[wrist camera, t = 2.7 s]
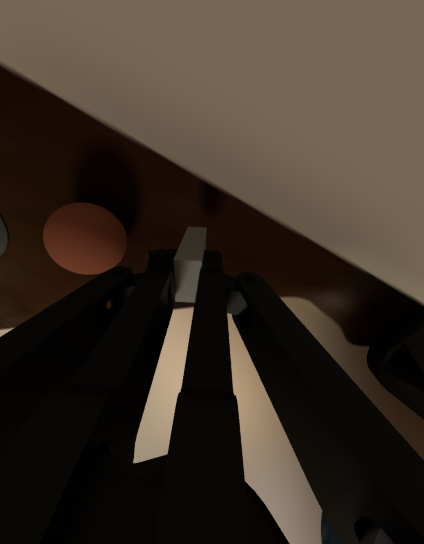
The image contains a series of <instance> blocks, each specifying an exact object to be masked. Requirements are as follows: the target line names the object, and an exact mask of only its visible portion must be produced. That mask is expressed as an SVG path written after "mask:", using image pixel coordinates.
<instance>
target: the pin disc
mask: <svg viewBox="0 0 424 544" xmlns="http://www.w3.org/2000/svg"><path fill="white" fill-rule="evenodd" d="M8 243H9V236H8V231H7V227H6V225H5V222H4V221H3V219H2V217H1V215H0V256H1V255H2V254H3V253H4V252H5V251H6V249H7V247H8Z"/></svg>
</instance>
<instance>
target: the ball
mask: <svg viewBox="0 0 424 544" xmlns="http://www.w3.org/2000/svg"><path fill="white" fill-rule="evenodd" d="M43 239H44V244H45V247H46V249H47V251H48V253H49V255H50V256H51V257H52V259H53V260H54V261H55V262H56V263H58V264H59V265H60V266H62V267H63V268H65V269H67V270H69V271H72V272H75V273H79V274H87V275H88V274H98V273H102V272H105V271H107V270H109V269H111V268H113V267H114V266H115V265H117V264H118V263H119V262H120V260H121V259H122V258H123V256H124V254H125V251H126V247H127V236H126V232H125V229H124V227H123V225H122V223H121V222H120V221H119V219H118V218H117V217H116V216H115V215H114V214H113V213H111V212H110V211H108V210H107V209H105V208H103V207H101V206H98V205H95V204H91V203H72V204H68V205H66V206H63V207H61V208H59V209H58V210H56V211H55V212H54V213H53V214H52V215H51V216H50V217H49V219H48V220H47V222H46V224H45V227H44V233H43Z"/></svg>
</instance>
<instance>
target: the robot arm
mask: <svg viewBox="0 0 424 544" xmlns="http://www.w3.org/2000/svg"><path fill="white" fill-rule="evenodd" d="M146 254H147V263H148V268H147V269H146V271H145V272H144V273H139V274H132V269H131V268H129V267H123V266H118V267H115V268H111V269H109V270H107V271H105V272H104V273H102V274H101V275H99V276H97V277H96V278H94V279H93V280H91V281H89V282H88V283H86V284H85V285H83V286H81V287H80V288H78V289H77V290H75V291H73V292H72V293H70V294H69V295H67V296H65V297H64V298H62V299H60V300H59V301H57V302H56V303H54V304H52V305H51V306H49V307H48V308H46V309H44V310H43V311H41V312H40V313H38V314H36V315H35V316H33V317H32V318H30V319H28V320H27V321H25V322H24V323H22V324H20V325H19V326H17V327H16V328H14V329H12V330H11V331H9V332H8V333H6V334H4V335H3V336H1V337H0V544H289V542H288V540H287V539H286V537H285V536H284V534H283V532H282V531H281V529H280V528H279V526H278V524H277V523H276V521H275V519H274V518H273V516H272V515H271V513H270V511H269V510H268V508H267V507H266V505H265V504H264V503H263V501H262V500H261V499H260V497H259V496H258V495H257V494H256V492H255V491H254V490H253V489H252V488H251V487H250V486H249V485H248V484H247V483H246V482H245V479H244V467H243V456H242V446H241V434H240V423H239V412H238V404H237V399H236V396H235V395H234V393H233V383H232V370H231V359H230V344H229V331H228V318H227V313H230V314H232V318H233V320H234V323H235V325H236V327H237V329H238V331H239V333H240V336H241V338H242V340H243V342H244V344H245V346H246V348H247V350H248V353H249V355H250V357H251V359H252V362H253V363H254V366H255V368H256V370H257V372H258V374H259V376H260V379H261V381H262V383H263V385H264V387H265V390H266V392H267V394H268V396H269V398H270V400H271V402H272V405H273V407H274V409H275V411H276V413H277V415H278V417H279V420H280V422H281V424H282V426H283V428H284V431H285V432H286V435H287V437H288V439H289V441H290V444H291V446H292V448H293V450H294V452H295V454H296V456H297V459H298V461H299V463H300V465H301V467H302V469H303V472H304V473H305V476H306V478H307V480H308V482H309V485H310V487H311V489H312V491H313V493H314V495H315V497H316V499H317V501H318V503H319V505H320V506H321V508H322V518H321V539H322V544H424V460H423V459H422V458H421V457H420V456H419V455H418V454H417V452H416V451H415V450H414V449H413V448H412V447H411V446H410V445H409V443H408V442H407V441H406V440H405V439H404V438H403V437H402V436H401V434H400V433H399V432H398V431H397V430H396V429H395V428H394V426H393V425H392V424H391V423H390V422H389V421H388V420H387V419H386V418H385V416H384V415H383V414H382V413H381V412H380V411H379V410H378V408H377V407H376V406H375V405H374V404H373V403H372V402H371V400H370V399H369V398H368V397H367V396H366V395H365V394H364V393H363V391H361V389H360V388H359V387H358V386H357V385H356V384H355V382H354V381H353V380H352V379H351V378H350V377H349V376H348V374H346V372H345V371H344V370H343V369H342V368H341V367H340V366H339V364H338V363H337V362H336V361H335V360H334V359H333V358H332V357H331V355H330V354H329V353H328V352H327V351H326V350H325V348H324V347H323V346H322V345H321V344H320V343H319V342H318V341H317V339H316V338H314V336H313V335H312V334H311V333H310V332H309V330H308V329H307V328H306V327H305V326H304V325H303V324H302V323H301V322H300V320H299V319H298V318H297V317H296V316H295V315H294V313H293V312H292V311H291V310H290V309H289V308H288V307H287V306H286V304H285V303H284V302H283V301H282V300H281V299H280V298H279V296H278V295H277V294H276V293H275V292H274V291H273V290H272V289H271V287H270V286H269V285H268V284H267V283H266V282H265V281H264V280H263V278H262V277H261V276H259V275H258V274H255V273H253V272H242V273H239V274H238V275H237V278H234V277H230V276H228V275H226V274H225V273H224V270H223V268H222V255H221V253H220V252H219V251H210V250H206V228H205V227H188V228H187V231H186V233H185V235H184V237H183V240H182V242H181V244H180V246H179V249H167V250H165V249H155V250H151V251H148V252H147V253H146ZM174 297H175V301H176V302H195V305H194V311H193V318H192V324H191V330H190V337H189V343H188V350H187V356H186V363H185V370H184V376H183V382H182V388H181V392H180V393H179V394H178V397H177V402H176V408H175V413H174V419H173V425H172V431H171V437H170V443H169V450H168V454H167V455H164V456H160V457H157V458H153V459H150V460H146V461H143V462H139V463H133V459H134V449H135V441H136V436H137V433H138V429H139V426H140V422H141V419H142V415H143V412H144V409H145V405H146V402H147V398H148V395H149V391H150V388H151V384H152V381H153V377H154V374H155V371H156V367H157V363H158V360H159V357H160V353H161V349H162V346H163V343H164V339H165V336H166V333H167V329H168V326H169V322H170V318H171V315H172V312H173V308H174ZM109 300H110V301H111V307H110V308H109V309H107V306H106V303H107V302H108V301H109ZM367 364H368V367H369V369H370V371H371V372H372V374H373V375H374V376H375V378H376V379H377V380H378V381H379V383H380V384H381V385H382V386H383V387H384V388H385V389H386V390H387V391H388V392H389V393H391V394H392V395H393V396H394V397H396V398H397V399H398V400H399V401H401V402H402V403H403V404H405V405H406V406H407V407H408V408H410V409H411V410H412V411H413V412H415V413H416V414H417V415H418V416H420V417H421V418H422V419H423V420H424V306H422V307H419V308H417V309H414V310H412V311H410V312H408V313H406V314H404V315H403V316H401V317H399V318H398V319H396V320H395V321H393V322H392V323H391V324H389V325H388V326H387V327H386V328H384V329H383V330H382V331H381V332H380V333H379V334H378V336H377V337H376V338H375V339H374V341H373V342H372V344H371V346H370V348H369V351H368V354H367Z"/></svg>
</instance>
